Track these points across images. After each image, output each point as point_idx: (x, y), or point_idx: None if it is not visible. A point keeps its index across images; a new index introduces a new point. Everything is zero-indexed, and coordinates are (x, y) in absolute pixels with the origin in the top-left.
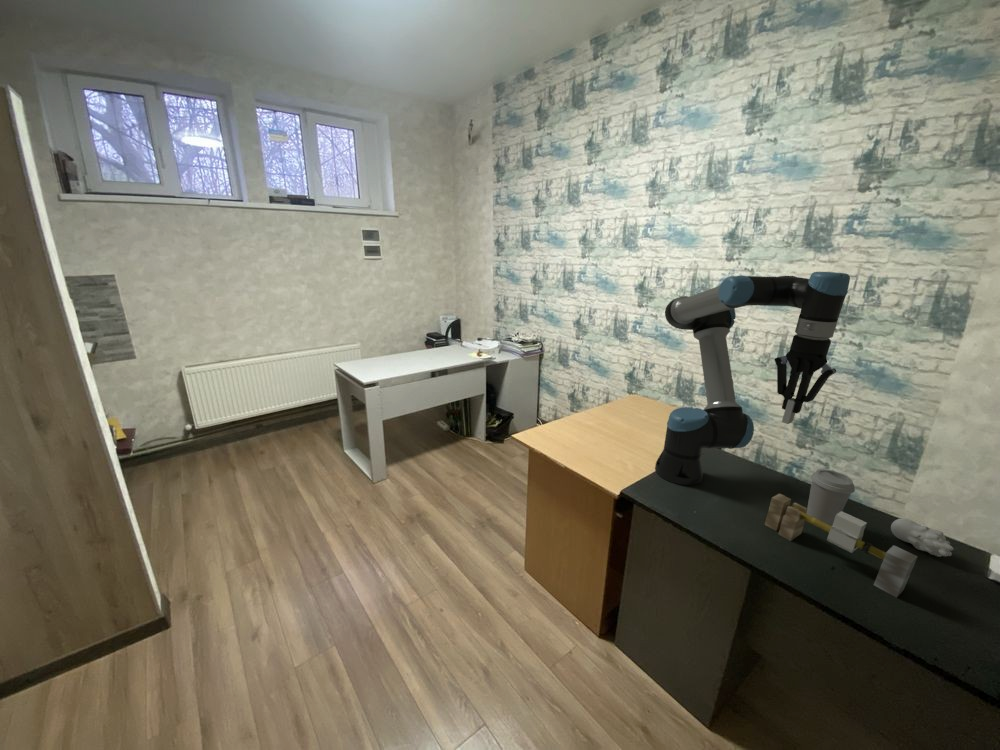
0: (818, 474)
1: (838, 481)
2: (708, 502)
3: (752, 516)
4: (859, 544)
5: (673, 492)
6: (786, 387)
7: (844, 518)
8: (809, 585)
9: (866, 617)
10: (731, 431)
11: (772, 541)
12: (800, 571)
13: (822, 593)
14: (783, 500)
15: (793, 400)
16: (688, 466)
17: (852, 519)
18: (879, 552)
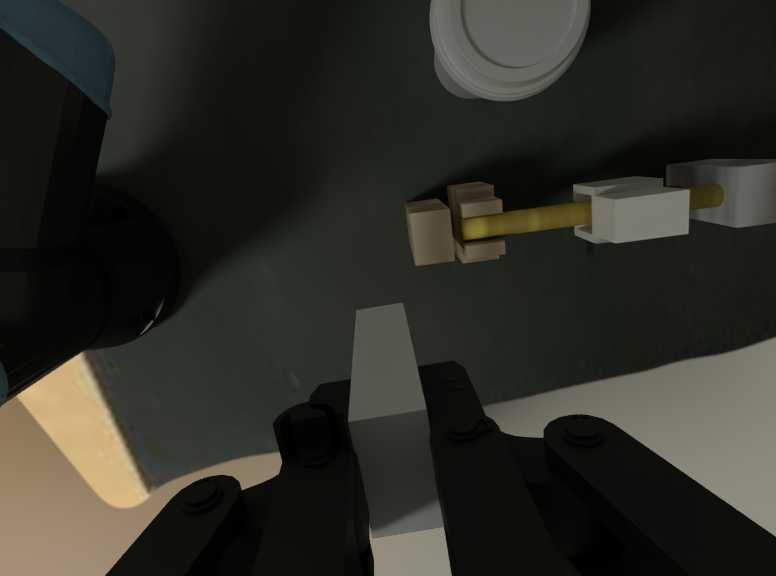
0: (474, 62)
1: (544, 27)
2: (272, 307)
3: (370, 242)
4: None
5: (197, 365)
6: (206, 553)
7: (639, 238)
8: (589, 354)
9: (689, 333)
10: (45, 167)
11: (464, 292)
12: (557, 331)
13: (614, 351)
14: (443, 244)
15: (413, 501)
16: (129, 312)
17: (656, 217)
18: (705, 206)
